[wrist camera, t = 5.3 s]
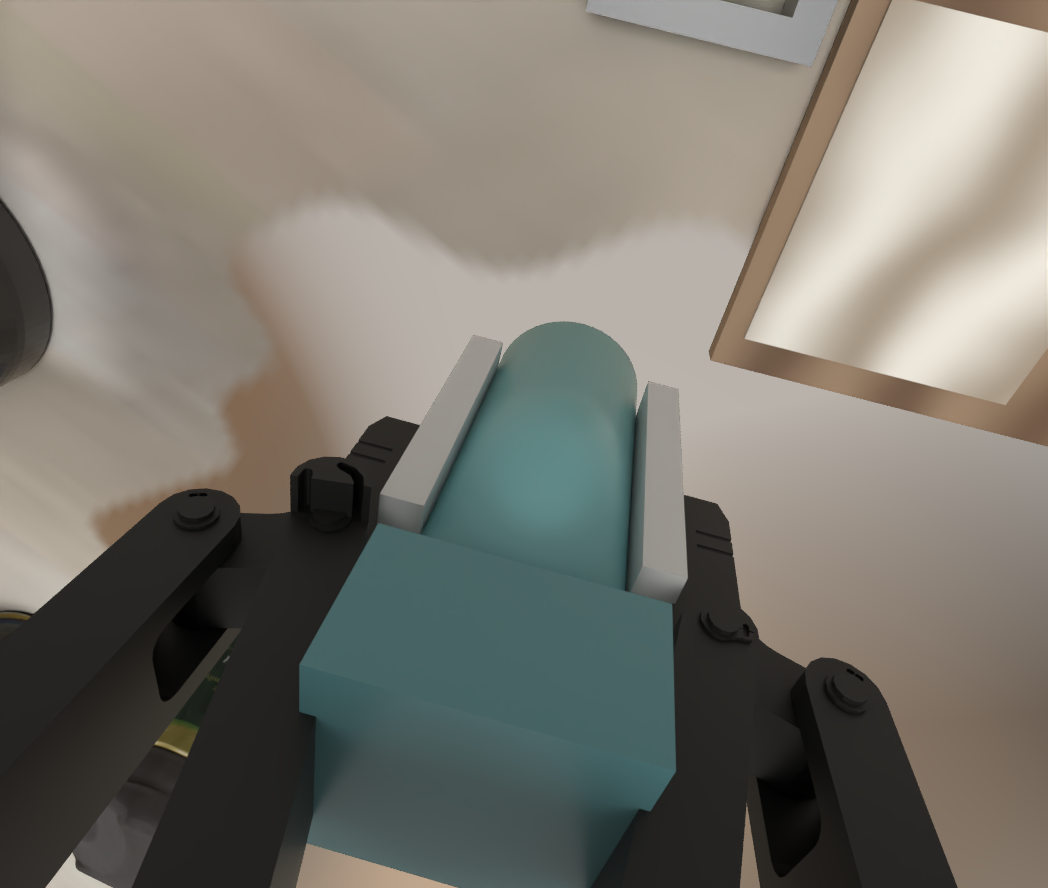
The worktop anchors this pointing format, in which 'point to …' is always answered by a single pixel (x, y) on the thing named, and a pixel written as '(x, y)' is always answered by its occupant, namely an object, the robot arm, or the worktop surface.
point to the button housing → (732, 23)
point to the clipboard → (913, 221)
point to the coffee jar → (144, 795)
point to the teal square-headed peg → (502, 647)
